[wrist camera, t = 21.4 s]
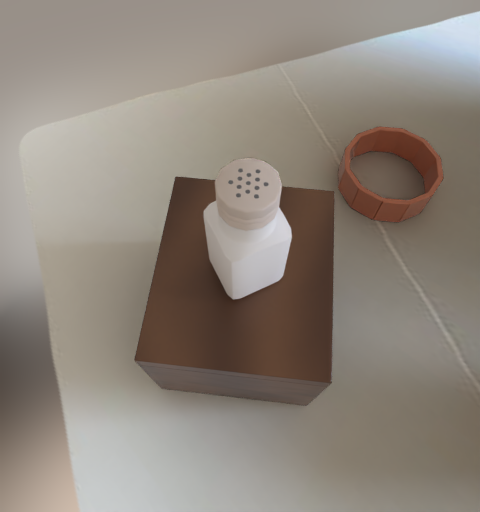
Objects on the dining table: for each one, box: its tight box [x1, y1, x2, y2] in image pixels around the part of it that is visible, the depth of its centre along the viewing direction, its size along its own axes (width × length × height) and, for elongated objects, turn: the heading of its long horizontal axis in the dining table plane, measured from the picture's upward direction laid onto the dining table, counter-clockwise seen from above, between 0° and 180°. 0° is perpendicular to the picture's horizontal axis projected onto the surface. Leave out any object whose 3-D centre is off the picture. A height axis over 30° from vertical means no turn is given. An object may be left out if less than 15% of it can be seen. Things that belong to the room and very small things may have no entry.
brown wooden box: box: [135, 177, 334, 406], centre depth 33 cm, size 12×14×10 cm
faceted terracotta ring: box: [338, 127, 443, 222], centre depth 43 cm, size 9×9×3 cm
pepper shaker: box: [204, 158, 292, 300], centre depth 24 cm, size 4×4×10 cm
